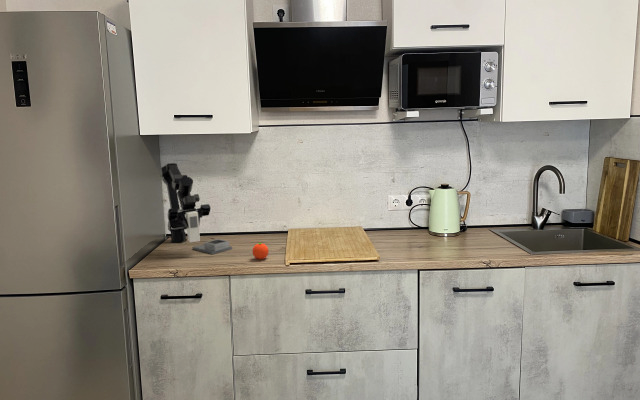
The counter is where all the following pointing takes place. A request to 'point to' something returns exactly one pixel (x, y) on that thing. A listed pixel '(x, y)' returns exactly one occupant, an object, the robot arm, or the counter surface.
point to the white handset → (193, 226)
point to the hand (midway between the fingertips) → (193, 226)
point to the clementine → (260, 251)
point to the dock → (214, 246)
